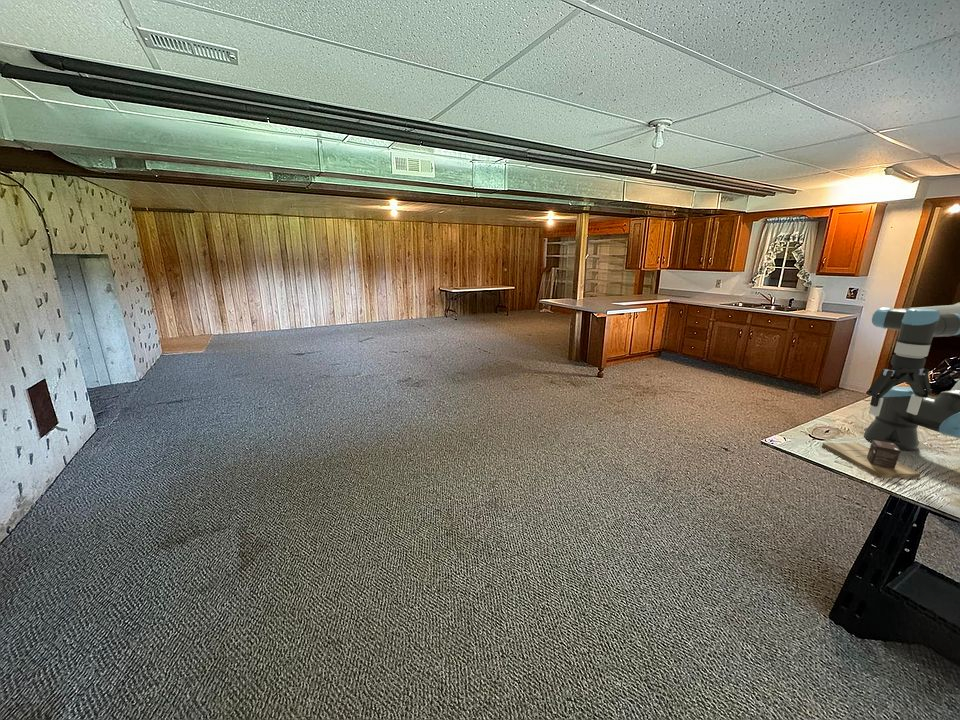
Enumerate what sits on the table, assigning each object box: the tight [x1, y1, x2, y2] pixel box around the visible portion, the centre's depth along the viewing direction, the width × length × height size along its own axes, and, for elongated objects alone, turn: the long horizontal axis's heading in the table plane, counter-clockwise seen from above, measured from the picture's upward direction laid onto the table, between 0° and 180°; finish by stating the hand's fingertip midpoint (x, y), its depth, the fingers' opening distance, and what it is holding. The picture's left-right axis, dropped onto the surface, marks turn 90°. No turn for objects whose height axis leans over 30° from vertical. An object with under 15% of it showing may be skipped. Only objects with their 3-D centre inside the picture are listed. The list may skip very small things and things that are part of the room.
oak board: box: [821, 442, 922, 479], centre depth 138 cm, size 14×22×2 cm, turn 0°
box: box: [867, 440, 902, 469], centre depth 133 cm, size 6×6×7 cm
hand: (892, 414), depth 131 cm, fingers open, 13 cm apart
